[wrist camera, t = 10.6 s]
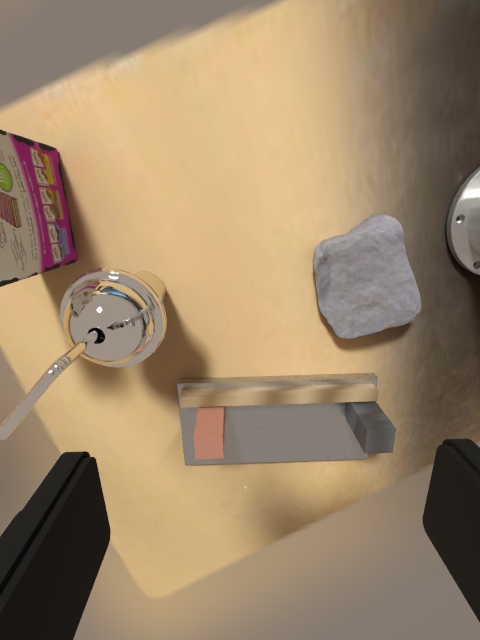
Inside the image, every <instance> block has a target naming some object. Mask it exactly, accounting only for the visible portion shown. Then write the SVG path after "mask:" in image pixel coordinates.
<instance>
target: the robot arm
mask: <svg viewBox="0 0 480 640" xmlns="http://www.w3.org/2000/svg"><path fill="white" fill-rule="evenodd" d="M456 218H457V219H456ZM446 234H447V240H448V245H449V248H450V250H451V253H452V255H453V256H454V258H455V259H456V261H457V262H458V263H459V264H460V265H461V266H462V267H463V268H465V269H466V270H468V271H470V272H472V273H474V274H477V275H480V167H479V168H478V169H477V170H476V171H474V172H473V173H472V174H471V175H470V176H469V177H468V178H467V180H466V181H465V182H464V183H463V185H462V186H461V187H460V189H459V191H458V192H457V194H456V196H455V197H454V200H453V202H452V205H451V207H450V210H449V214H448V219H447V230H446ZM423 525H424V529H425V532H426V533H427V535H428V537H429V538H430V540H431V542H432V544H433V545H434V547H435V549H436V550H437V552H438V554H439V555H440V557H441V559H442V560H443V562H444V564H445V565H446V567H447V569H448V570H449V572H450V574H451V575H452V577H453V579H454V580H455V582H456V583H457V585H458V586H459V589H460V590H461V592H462V593H463V595H464V597H465V598H466V600H467V602H468V604H469V605H470V607H471V609H472V610H473V612H474V614H475V615H476V617H477V618H478V620H479V622H480V448H479V447H478V446H477V445H476V444H475V443H474V442H473V441H472V440H470V439H447V440H444V441H443V443H442V445H439V446H438V448H437V451H436V456H435V461H434V466H433V470H432V475H431V480H430V485H429V490H428V495H427V500H426V504H425V509H424V514H423ZM109 540H110V526H109V521H108V516H107V511H106V506H105V501H104V496H103V492H102V487H101V482H100V477H99V472H98V467H97V463H96V459H95V458H94V457H90V455H89V453H88V452H65V453H63V454H62V455H61V456H60V458H59V459H58V460H57V462H56V463H55V465H54V466H53V468H52V469H51V470H50V472H49V473H48V475H47V476H46V477H45V479H44V480H43V482H42V483H41V485H40V486H39V488H38V489H37V490H36V492H35V493H34V494H33V496H32V497H31V499H30V500H29V501H28V503H27V504H26V506H25V507H24V508H23V510H22V511H20V512H19V513H18V514H17V515H16V516H15V517H14V519H13V520H12V521H11V523H10V524H9V525H8V527H7V528H6V530H5V531H4V533H3V534H2V535H1V537H0V640H73V638H74V635H75V633H76V630H77V627H78V624H79V622H80V619H81V617H82V614H83V611H84V609H85V606H86V603H87V601H88V598H89V595H90V593H91V590H92V587H93V585H94V582H95V579H96V577H97V574H98V571H99V569H100V566H101V563H102V561H103V558H104V555H105V553H106V550H107V547H108V544H109Z"/></svg>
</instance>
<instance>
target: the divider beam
mask: <svg viewBox="0 0 480 640" xmlns="http://www.w3.org/2000/svg"><path fill="white" fill-rule="evenodd" d="M377 399H378V389H377V388H376V387H375V386H374V385H373V384H350V385H319V386H287V387H256V388H225V389H194V390H182V391H181V395H180V404H181V408H185V407H215V406H246V405H277V404H307V403H338V402H347V412H346V420H347V422H348V424H349V426H350V428H351V430H352V431H353V433H354V435H355V437H356V439H357V441H358V443H359V444H360V446H361V448H362V450H363V452H364V454H366V453H393V446H394V440H395V433H396V428H395V427H394V425H393V424H392V423H391V421H390V420H389V419H388V417H387V416H386V415H385V413H384V412H383V411H382V409H381V408H380V407H379V405H378V404H377V403H376V402H375V401H377Z"/></svg>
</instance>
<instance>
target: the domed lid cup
mask: <svg viewBox="0 0 480 640" xmlns="http://www.w3.org/2000/svg"><path fill="white" fill-rule="evenodd" d="M165 297H166V288H165V285H164V283H163V282H162V280H161V279H160V278H159V277H158V276H157V275H155V274H153V273H151V272H146V271H141V272H136V273H132V272H129V271H125V270H122V269H117V268H99V269H95V270H92V271H89V272H87V273H85V274H83V275H81V276H80V277H79V278H78V279H76V280H75V281H74V282H73V283H72V285H70V287H69V288H68V290H67V291H66V292H65V294H64V297H63V299H62V302H61V307H60V321H61V325H62V329H63V331H64V333H65V335H66V338H67V340H68V342H69V344H70V345H71V346H72V348H71V349H70V350H69V351H67V352H66V353H65V354H64V355H63V356H61V357H60V358H58V359H57V360H56V361H55V362H54V363H53V364H52V365H51V366H50V367H49V368H48V369H47V370H46V371H45V373H44V374H43V375H42V376H41V377H40V379H39V380H38V381H37V382H36V384H35V385H34V386H33V387H32V388H31V390H30V391H29V392H28V393H27V394H26V396H25V397H24V398H23V399H22V401H21V402H20V403H19V404H18V406H17V407H16V408H15V409H14V410H13V412H12V413H11V414H10V415H9V416H8V418H7V419H6V420H5V421H4V422H3V424H2V425H1V426H0V439H1V440H4V439H7V437H8V436H9V435H10V434H11V433H12V431H13V430H14V429H15V428H16V427H17V425H18V424H19V423H20V422H21V421H22V419H23V418H24V417H25V416H26V414H27V413H28V412H29V411H30V410H31V408H32V407H33V406H34V405H35V404H36V402H37V401H38V400H39V399H40V398H41V396H42V395H43V394H44V393H45V392H46V390H47V389H48V388H49V387H50V385H51V384H52V383H53V382H54V381H55V379H56V378H57V377H58V376H59V375H60V374H61V373H62V372H63V371H64V370H65V369H66V368H67V367H68V366H70V365H71V364H72V363H73V362H74V361H75V360H76V359H77V358H78V357H79V356H80V355H81V356H82V357H83V358H85V359H87V360H89V361H91V362H94V363H97V364H100V365H103V366H107V367H116V368H118V367H128V366H132V365H135V364H138V363H140V362H142V361H144V360H145V359H147V358H148V357H149V356H151V355H152V354H153V353H154V352H155V351H156V350H157V349H158V347H159V346H160V344H161V342H162V341H163V339H164V336H165V332H166V324H167V319H166V312H165V308H164V306H163V304H164V300H165Z"/></svg>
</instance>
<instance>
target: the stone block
mask: <svg viewBox="0 0 480 640" xmlns="http://www.w3.org/2000/svg"><path fill="white" fill-rule="evenodd" d="M313 269H314V274H315V280H316V290H317V296H318V298H317V299H318V303H319V309H320V312H321V313H322V314H323V316H324V317H325V318H326V319H327V322H328V323H329V325H331V327H332V328H333V331H334V333H335V334H336V335H337V336H338V337H340V338H345V339H353V338H357V337H360V336H364V335H368V334H372V333H376V332H379V331H382V330H384V329H386V328H391V327H397V326H402V325H405V324H407V323H409V322H411V321H413V319H414V318H415V316H416V314H419V312H420V309H421V301H420V294H419V290H418V287H417V283H416V280H415V277H414V275H413V272H412V270H411V267H410V265H409V262H408V259H407V256H406V250H405V246H404V233H403V229H402V226H401V224H400V223H399V222H398V221H397V220H396V219H395V218H393V217H391V216H389V215H387V214H385V213H384V214H379V215H374V216H371V217H369V218H368V219H366V220H365V221H364V222H362V223H360V224H359V225H358V226H357V227H355V228H353V229H352V230H351V231H350V232H348V233H346V234H344V235H340V236H334V237H331V238H329V239H326V240H323V241H321V242H320V244H319V245H318V246H317V247H316V248H315V251H314V257H313Z"/></svg>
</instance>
